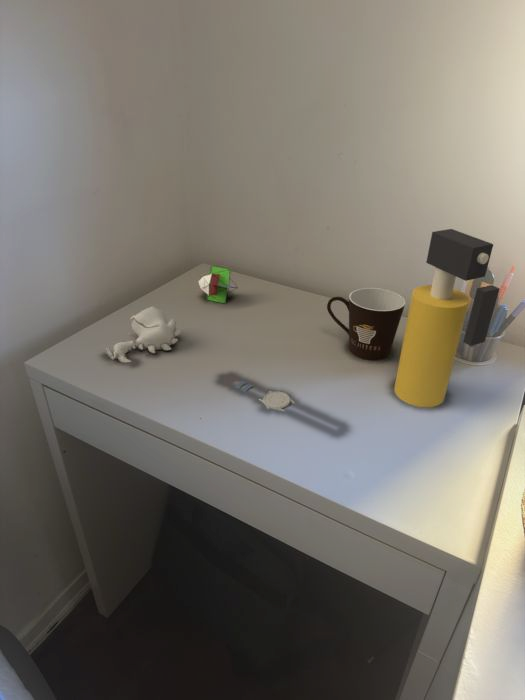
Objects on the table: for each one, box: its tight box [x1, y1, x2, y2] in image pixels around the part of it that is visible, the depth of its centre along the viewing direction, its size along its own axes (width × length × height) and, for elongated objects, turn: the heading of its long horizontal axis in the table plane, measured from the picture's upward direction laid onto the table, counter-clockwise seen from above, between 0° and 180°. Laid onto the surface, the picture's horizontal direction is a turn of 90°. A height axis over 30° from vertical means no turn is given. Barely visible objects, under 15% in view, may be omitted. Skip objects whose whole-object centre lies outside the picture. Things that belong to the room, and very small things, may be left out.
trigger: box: [462, 284, 501, 347], centre depth 59 cm, size 2×1×7 cm, turn 117°
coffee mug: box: [326, 287, 406, 362], centre depth 81 cm, size 12×9×10 cm
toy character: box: [105, 306, 182, 363], centre depth 80 cm, size 6×9×12 cm
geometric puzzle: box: [197, 265, 239, 305], centre depth 98 cm, size 7×7×8 cm
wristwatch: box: [234, 380, 296, 412], centre depth 69 cm, size 4×20×1 cm, turn 53°
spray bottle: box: [393, 228, 494, 408], centre depth 65 cm, size 7×9×24 cm
